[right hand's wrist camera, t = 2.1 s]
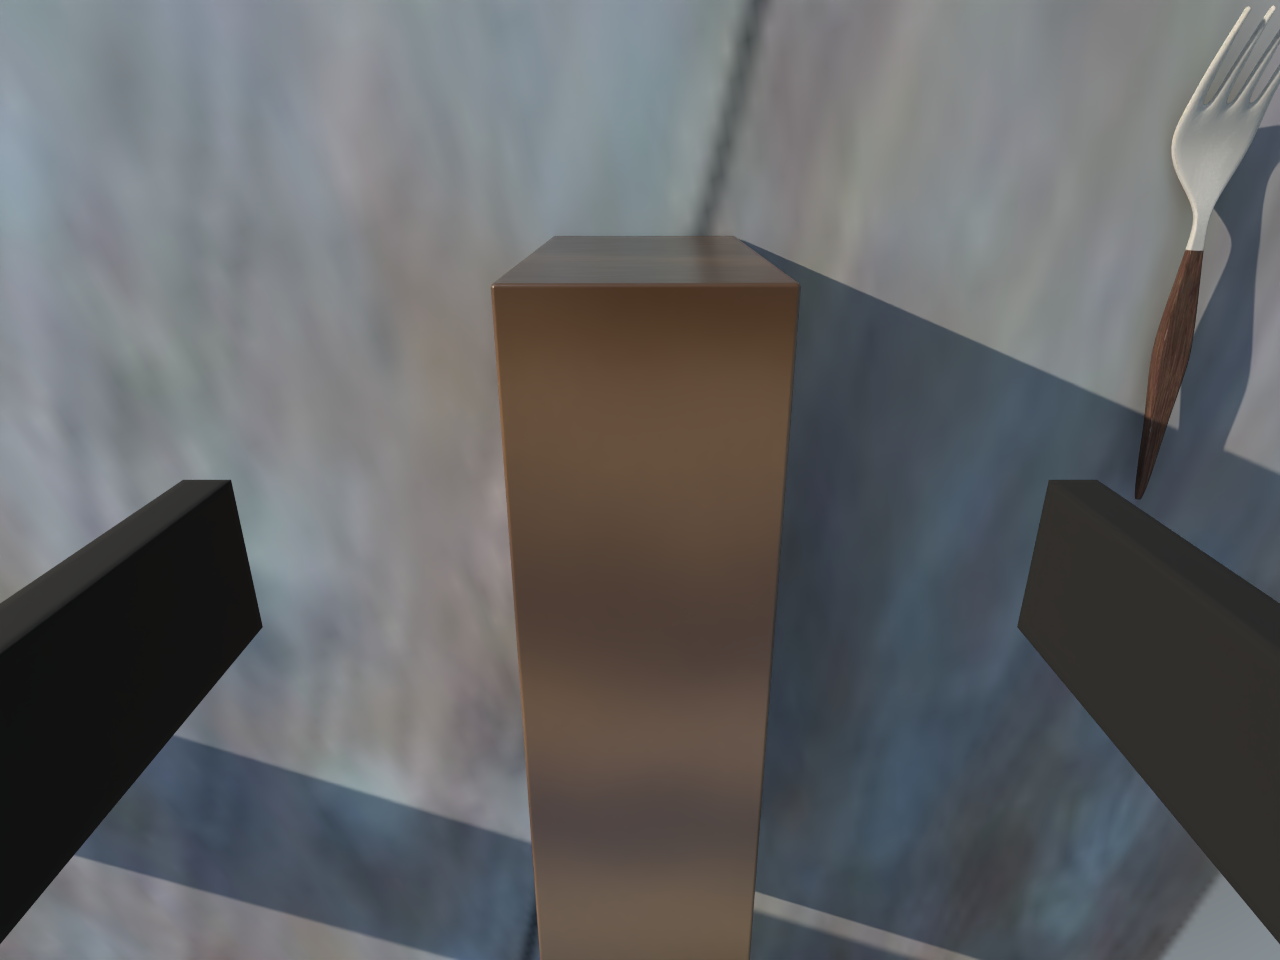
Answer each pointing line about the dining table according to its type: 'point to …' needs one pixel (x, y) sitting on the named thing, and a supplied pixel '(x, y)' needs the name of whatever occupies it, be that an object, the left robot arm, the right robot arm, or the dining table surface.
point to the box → (645, 579)
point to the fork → (1200, 219)
